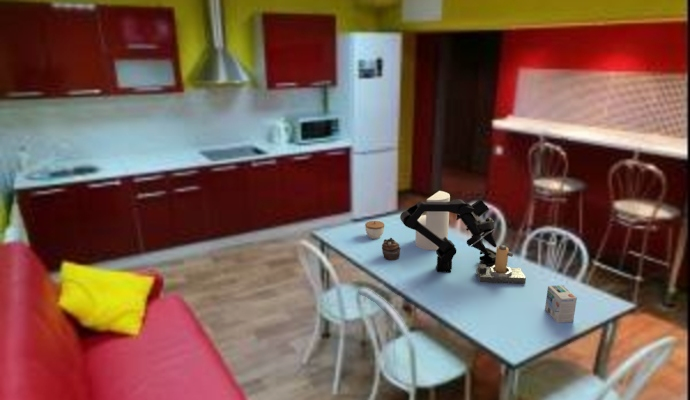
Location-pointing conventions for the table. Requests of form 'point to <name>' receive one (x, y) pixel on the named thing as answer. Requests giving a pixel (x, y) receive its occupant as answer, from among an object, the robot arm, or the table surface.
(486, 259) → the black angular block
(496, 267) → the tan bottle
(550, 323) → the table surface
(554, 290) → the light bulb box
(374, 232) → the lidded jar
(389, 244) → the cupcake
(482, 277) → the motor base
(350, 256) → the table surface
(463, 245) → the table surface
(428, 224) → the cylinder
